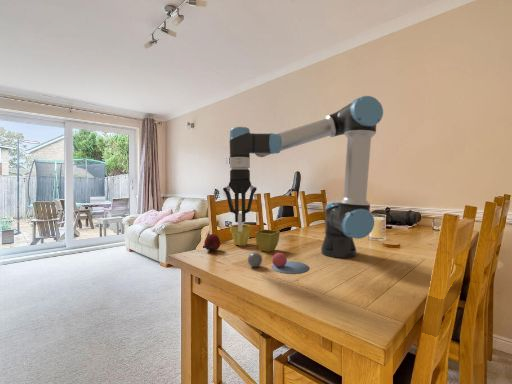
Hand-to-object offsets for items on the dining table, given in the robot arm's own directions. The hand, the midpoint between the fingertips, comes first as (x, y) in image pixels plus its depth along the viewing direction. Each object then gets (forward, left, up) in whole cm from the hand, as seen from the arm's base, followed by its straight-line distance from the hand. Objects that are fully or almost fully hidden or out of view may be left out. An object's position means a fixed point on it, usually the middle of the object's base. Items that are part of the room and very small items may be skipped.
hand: (240, 230), depth 102 cm
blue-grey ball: (-6, 0, -11) cm, 12 cm away
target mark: (-19, 0, -14) cm, 24 cm away
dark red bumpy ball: (+16, -22, -14) cm, 31 cm away
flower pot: (-10, -24, -14) cm, 30 cm away
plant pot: (+4, -35, -14) cm, 38 cm away
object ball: (-15, 0, -11) cm, 19 cm away
